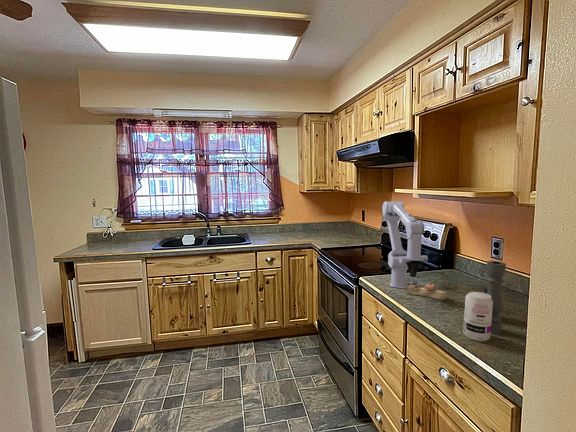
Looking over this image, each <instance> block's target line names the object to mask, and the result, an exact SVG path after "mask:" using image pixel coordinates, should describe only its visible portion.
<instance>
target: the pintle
mask: <svg viewBox="0 0 576 432" xmlns="http://www.w3.org/2000/svg"><path fill="white" fill-rule="evenodd" d="M409 284H411V287H414V288H415V285H416V286H417V285H418V281H417V280H410V281H409Z"/></svg>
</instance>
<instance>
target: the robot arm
mask: <svg viewBox="0 0 576 432" xmlns="http://www.w3.org/2000/svg"><path fill="white" fill-rule="evenodd" d="M381 210H382V216H383V219H384V220H386V224H387V227H388V228H387V229H388V233H389V239H390V243H391V249H392V250H391V251H390V252H389V253H388V255H387V258H388V259H387V263H388V266H389V268H391V276H390V277H391V279H390V284H389V286H388V287H391V288H399V289H406V290H407V286H409V282H407V275H408V274H407V273H408V272H407V270H408V271H409V275H410V277H412V278H416V276H417V273H418V271H419V269H420V267H421V266H422V264H423V263H422V262H421V261H428V258H429V257H428V255H425V254H424V255H421V254H422V253H421V252H422V251H421V250H422V235H423V234H424V233H425V224H424V222H423V221H420V220H417V219H416V218H415V217H414V216H413V214H412V213H411V212H410V213H409V212H407V211H406V209H405V204H404V202H403V200H399V201H386V200H385V201H384V202H383V203H382V209H381ZM399 219H400V222H401V223H402V224H403V226H404V227H405V232H406V238H407V249H406V250H405V249H404V248H403V244H402V240H401V235H400V229H399V225H398V220H399Z"/></svg>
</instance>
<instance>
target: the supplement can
mask: <svg viewBox="0 0 576 432" xmlns="http://www.w3.org/2000/svg"><path fill="white" fill-rule="evenodd" d="M492 308H493V300H492V298H491V296H490V295H488V294H486V293H484V292H481V291H468V292H467V294H466V296H465V300H464V313H463V314H464V315H463V328H462V329H463V331H462V333H463V334H464V335H465V337H467V338H468V339H470V340H473V341H477V342H486V341H489V340H490V339H491V335H492V333H491V321H492Z"/></svg>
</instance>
